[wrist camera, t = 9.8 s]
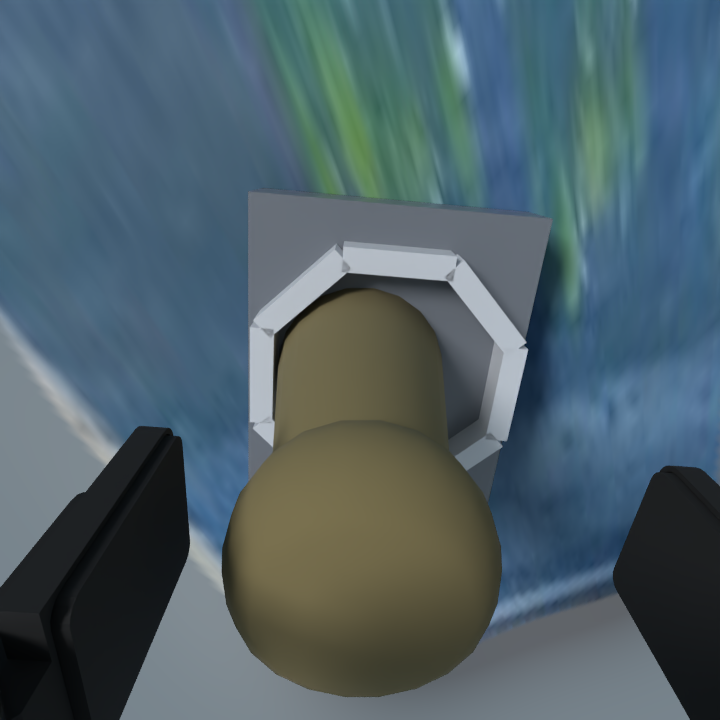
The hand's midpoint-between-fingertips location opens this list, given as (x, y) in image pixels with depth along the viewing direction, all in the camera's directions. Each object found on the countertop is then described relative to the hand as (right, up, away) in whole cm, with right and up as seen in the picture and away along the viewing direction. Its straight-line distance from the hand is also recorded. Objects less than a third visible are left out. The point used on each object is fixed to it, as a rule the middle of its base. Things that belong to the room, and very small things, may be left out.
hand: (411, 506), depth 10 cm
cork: (-1, +3, +8) cm, 9 cm away
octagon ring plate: (0, +3, +11) cm, 11 cm away
